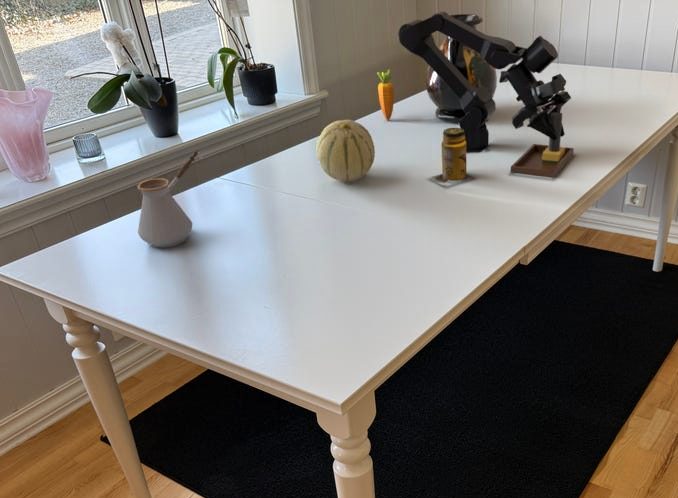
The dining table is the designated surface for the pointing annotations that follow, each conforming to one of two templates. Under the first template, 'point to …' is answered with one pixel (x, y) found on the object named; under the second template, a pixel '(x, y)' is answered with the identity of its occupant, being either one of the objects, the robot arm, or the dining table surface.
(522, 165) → the tray
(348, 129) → the cantaloupe
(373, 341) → the dining table surface
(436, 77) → the amphora vase
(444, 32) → the robot arm
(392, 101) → the carrot
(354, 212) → the dining table surface
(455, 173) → the condiment
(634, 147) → the dining table surface
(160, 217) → the coffee pot
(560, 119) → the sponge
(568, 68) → the dining table surface
